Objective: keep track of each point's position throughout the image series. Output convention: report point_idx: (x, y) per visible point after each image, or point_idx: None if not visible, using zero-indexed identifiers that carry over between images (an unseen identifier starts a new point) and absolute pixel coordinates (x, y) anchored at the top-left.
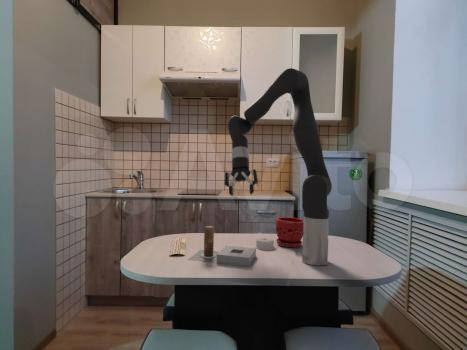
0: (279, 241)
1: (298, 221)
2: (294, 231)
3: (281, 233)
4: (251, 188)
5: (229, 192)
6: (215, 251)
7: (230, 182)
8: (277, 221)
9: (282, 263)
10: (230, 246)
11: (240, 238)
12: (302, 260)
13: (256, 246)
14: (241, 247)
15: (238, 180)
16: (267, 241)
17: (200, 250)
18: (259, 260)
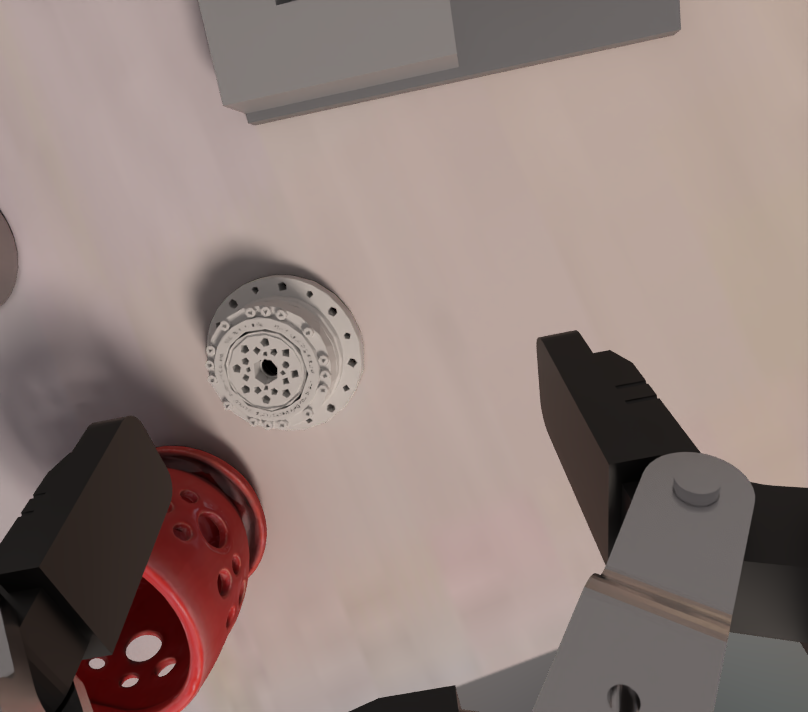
0: (245, 511)
1: None
2: None
3: (172, 486)
4: (56, 511)
5: (622, 368)
6: (550, 56)
7: (721, 568)
8: (172, 565)
9: (81, 118)
10: (414, 45)
11: (539, 522)
12: (1, 218)
13: (323, 316)
14: (326, 69)
15: (389, 697)
16: (231, 334)
17: (675, 9)
18: (218, 96)
